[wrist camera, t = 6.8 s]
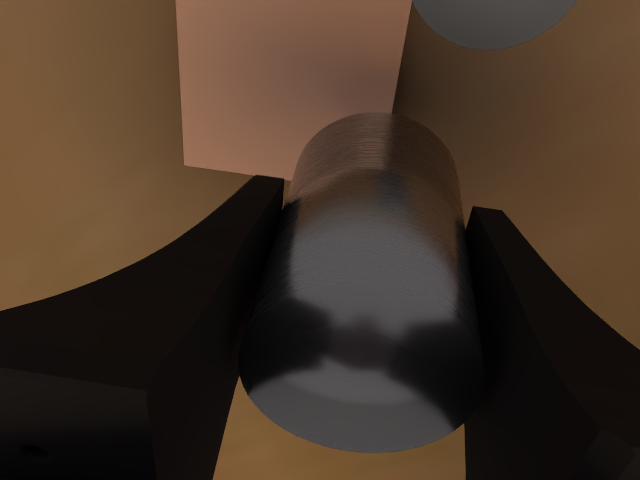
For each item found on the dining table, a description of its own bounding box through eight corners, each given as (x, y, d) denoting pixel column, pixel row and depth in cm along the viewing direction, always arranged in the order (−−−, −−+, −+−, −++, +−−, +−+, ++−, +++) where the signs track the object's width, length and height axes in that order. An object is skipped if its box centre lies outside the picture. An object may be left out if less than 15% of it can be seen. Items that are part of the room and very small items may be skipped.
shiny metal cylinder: (492, 159, 13) (539, 354, 9) (404, 274, 16) (403, 477, 11) (337, 82, 13) (295, 245, 8) (269, 213, 15) (206, 402, 10)
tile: (377, 184, 21) (377, 193, 21) (189, 157, 21) (184, 165, 21) (414, -20, 17) (414, -16, 16) (179, -51, 17) (173, -47, 17)
